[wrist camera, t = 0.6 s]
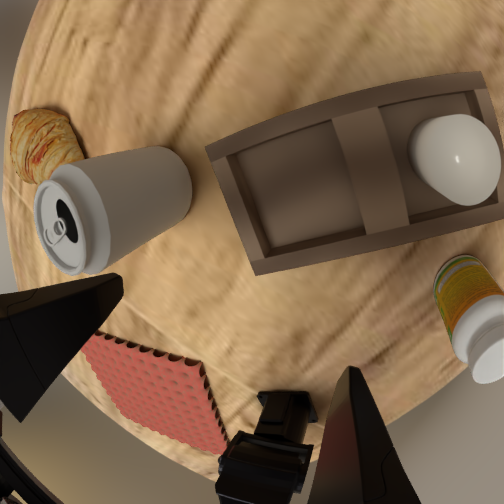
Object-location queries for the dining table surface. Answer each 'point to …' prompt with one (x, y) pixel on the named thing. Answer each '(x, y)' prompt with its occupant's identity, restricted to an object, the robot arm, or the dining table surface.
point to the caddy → (347, 174)
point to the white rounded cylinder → (455, 157)
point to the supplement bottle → (473, 315)
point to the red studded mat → (157, 392)
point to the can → (109, 206)
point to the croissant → (42, 144)
